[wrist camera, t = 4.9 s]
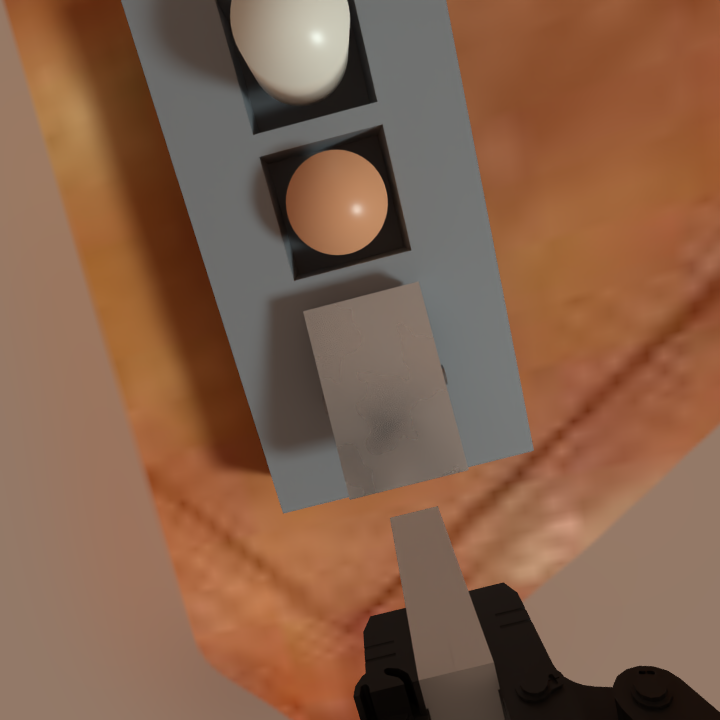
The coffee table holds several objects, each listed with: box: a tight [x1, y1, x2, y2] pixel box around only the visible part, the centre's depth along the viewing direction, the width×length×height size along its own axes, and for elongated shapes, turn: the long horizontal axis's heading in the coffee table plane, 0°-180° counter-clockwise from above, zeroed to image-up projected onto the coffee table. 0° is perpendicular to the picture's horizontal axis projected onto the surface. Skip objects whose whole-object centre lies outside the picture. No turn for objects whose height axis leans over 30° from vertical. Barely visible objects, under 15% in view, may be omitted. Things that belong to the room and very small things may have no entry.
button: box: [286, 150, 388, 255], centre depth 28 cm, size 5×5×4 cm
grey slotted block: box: [121, 0, 534, 513], centre depth 30 cm, size 26×14×6 cm, turn 14°
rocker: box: [303, 281, 468, 500], centre depth 27 cm, size 9×6×2 cm, turn 14°
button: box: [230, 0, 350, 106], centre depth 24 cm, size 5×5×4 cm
